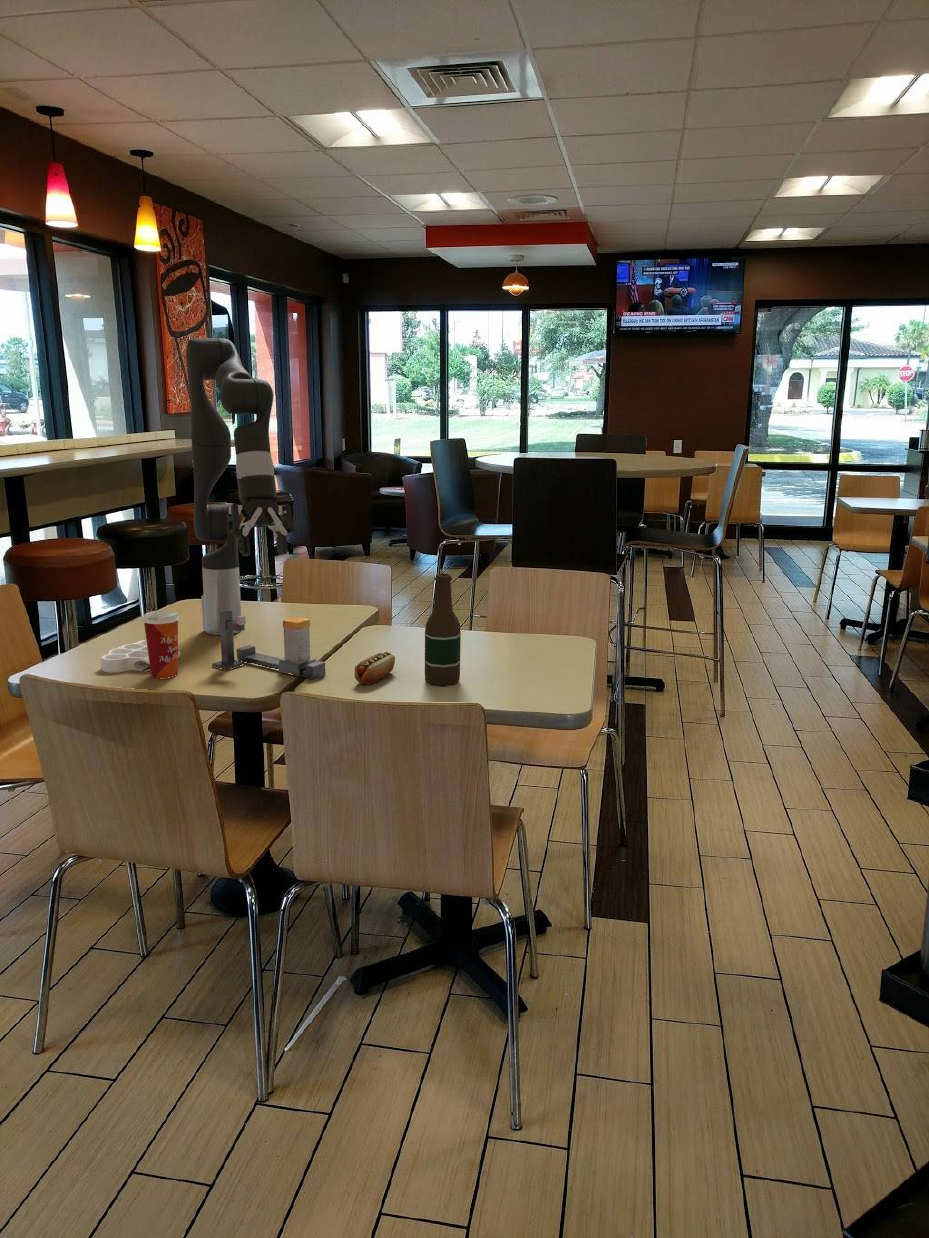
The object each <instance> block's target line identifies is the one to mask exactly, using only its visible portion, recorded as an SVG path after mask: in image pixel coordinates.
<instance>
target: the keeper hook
mask: <svg viewBox="0 0 929 1238" xmlns="http://www.w3.org/2000/svg"><path fill="white" fill-rule="evenodd" d="M219 614H220V635H219V636H220V650H221V652H220V653H221V660H220V661H216V662H213V663H212V664H211V665H212V666H215V667H218V668H217V669H219V668H222V669H221V670H223V669H225V670H224V671H227V670H228V671H230V670H229V669H231V668H234V667H237V666H240V665H242V664H244V665H245V663H244V662H241V661H237V659H235V643H234V641H235V640H234V634H233V630H235V631H240V632H243V631H245V625H246V624H247V619H246V618H247V617H246V615H242V614H241V616H238V617H237V621H233V617H232V611H230V610H223V611H219ZM212 666H211V667H212ZM215 667H214V668H215ZM231 670H232V669H231Z"/></svg>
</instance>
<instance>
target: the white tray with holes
mask: <svg viewBox="0 0 929 1238" xmlns="http://www.w3.org/2000/svg"><path fill="white" fill-rule="evenodd" d="M180 656H181V651H180V650H179V649H178V658H180ZM100 662H101V663H100V664H101V671H103V672H105V673H122V672H127V671H139V672H142V671H144V672H149V671H150V672H151V670H150V663H149V656H148V648H147V640H146V639H143V640H139V641H137V642H134V643H127V644H123V645H120V646H119V647H117V648H111V650H109V651H107V654H105V655H102V656H101V657H100ZM147 668H149V669H147ZM145 669H146V670H145Z"/></svg>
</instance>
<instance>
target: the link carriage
mask: <svg viewBox="0 0 929 1238" xmlns="http://www.w3.org/2000/svg"><path fill="white" fill-rule="evenodd" d="M310 627H311V620H310V618H309V619H308V618H304V617H299V616H294V617H290V618H286V619H282V628H283V645H284V646H283V647H284V649H283V650H284V653H283V654H284V657H283V658H280V661H279V671H280V672H279V671H278V672H279V673H282V672H284V674H286V673H291V674H293V675H292V676H294V675H296V677H298V678H299V677H300V676H301V674H300V670H301V669H304V668H306V665H308V664H311V663H314V662H317V660H316V658H314V657H313V658H312V657H311V649H310V648H311V641H310V640H311V639H310V635H311V634H310V633H311V632H310Z"/></svg>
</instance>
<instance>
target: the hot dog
mask: <svg viewBox="0 0 929 1238" xmlns="http://www.w3.org/2000/svg"><path fill="white" fill-rule="evenodd" d="M395 664H396V657H395V655H393V654H392V653H391V652H389V651H385V652H379V653H376V654H374V655H372V656H369V657H367V658H366V659H364V660H362V661H360V662H359V663H357V664H356V665H355V666H354V678H355V681H357V682H358V683H360V684H362V685H371V684H372V683H376V682H379V681H380V680H382V679H383V678H385V677H387V675H389V674H390V673H391V672H392V671H394V670H393V669H394V667H395Z"/></svg>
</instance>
